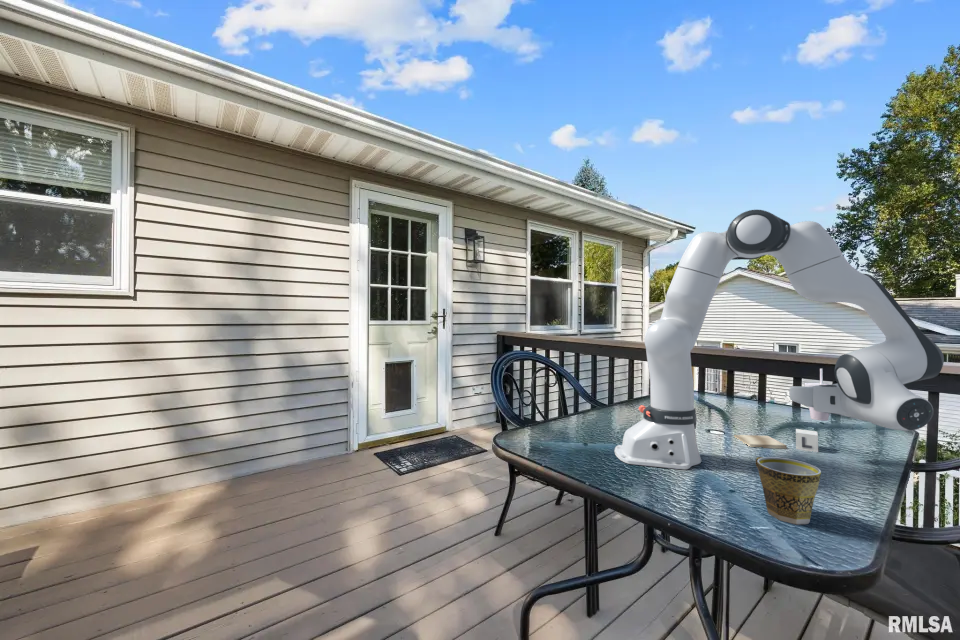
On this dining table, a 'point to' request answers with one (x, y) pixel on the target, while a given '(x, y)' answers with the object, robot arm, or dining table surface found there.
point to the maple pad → (760, 441)
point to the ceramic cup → (788, 488)
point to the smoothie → (813, 413)
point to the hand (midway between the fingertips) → (816, 390)
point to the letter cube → (807, 440)
